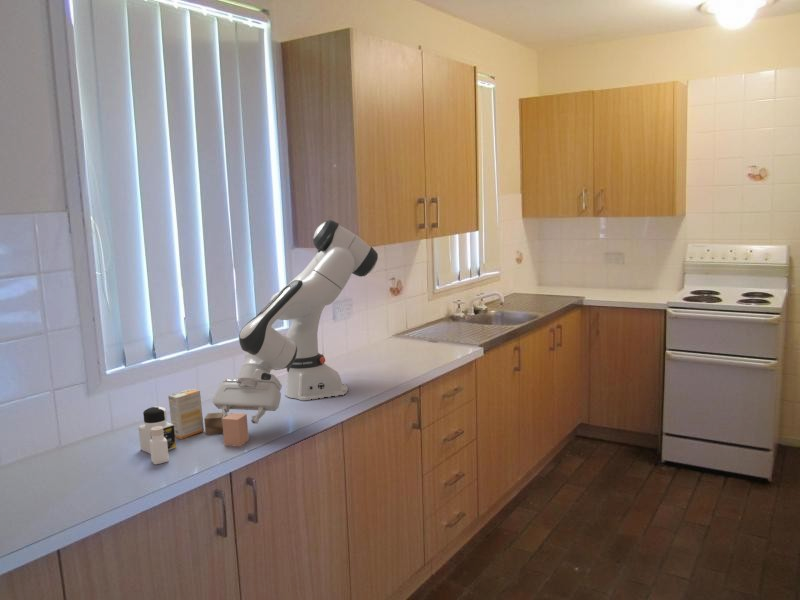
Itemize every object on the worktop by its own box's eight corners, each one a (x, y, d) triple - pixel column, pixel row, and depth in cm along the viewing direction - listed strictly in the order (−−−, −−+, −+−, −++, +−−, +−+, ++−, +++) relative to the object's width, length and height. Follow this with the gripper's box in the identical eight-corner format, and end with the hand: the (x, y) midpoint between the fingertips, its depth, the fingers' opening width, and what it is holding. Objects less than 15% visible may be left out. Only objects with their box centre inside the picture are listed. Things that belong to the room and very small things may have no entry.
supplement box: (195, 428, 203) (191, 387, 201) (204, 431, 200) (200, 390, 198) (171, 436, 196) (167, 394, 194) (180, 439, 193) (176, 397, 191)
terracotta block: (233, 439, 192) (231, 413, 191) (248, 440, 190) (246, 414, 189) (224, 445, 187) (222, 418, 186) (240, 446, 186) (238, 419, 184)
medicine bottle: (153, 455, 182) (148, 414, 180) (140, 450, 186) (136, 409, 184) (176, 447, 187) (172, 407, 185) (163, 442, 192) (159, 403, 190)
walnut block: (225, 427, 202) (224, 412, 202) (222, 433, 198) (221, 417, 197) (208, 429, 202) (207, 413, 201) (205, 434, 197) (204, 418, 196)
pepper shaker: (166, 457, 180) (162, 424, 178) (169, 462, 176) (166, 428, 175) (150, 461, 178) (147, 427, 176) (154, 465, 174) (150, 431, 173)
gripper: (217, 374, 198) (203, 415, 190) (279, 375, 192) (267, 418, 184) (226, 384, 203) (212, 425, 195) (286, 386, 197) (275, 428, 189)
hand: (239, 422), depth 189 cm, fingers open, 8 cm apart
